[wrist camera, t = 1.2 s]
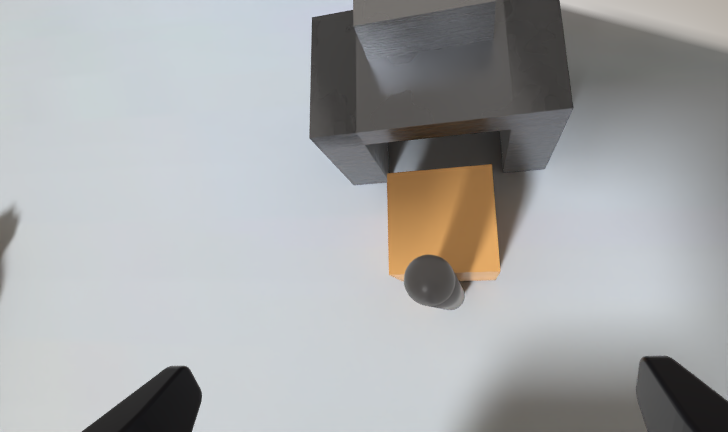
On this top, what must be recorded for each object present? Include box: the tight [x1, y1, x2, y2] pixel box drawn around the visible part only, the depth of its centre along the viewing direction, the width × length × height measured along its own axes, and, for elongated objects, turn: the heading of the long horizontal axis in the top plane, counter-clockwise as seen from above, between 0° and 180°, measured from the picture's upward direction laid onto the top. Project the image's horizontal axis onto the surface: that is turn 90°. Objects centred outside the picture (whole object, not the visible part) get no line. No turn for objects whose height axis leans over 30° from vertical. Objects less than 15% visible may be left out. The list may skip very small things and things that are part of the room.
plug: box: [387, 164, 500, 310], centre depth 17 cm, size 6×4×11 cm
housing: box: [310, 0, 573, 185], centre depth 19 cm, size 6×10×9 cm, turn 91°
